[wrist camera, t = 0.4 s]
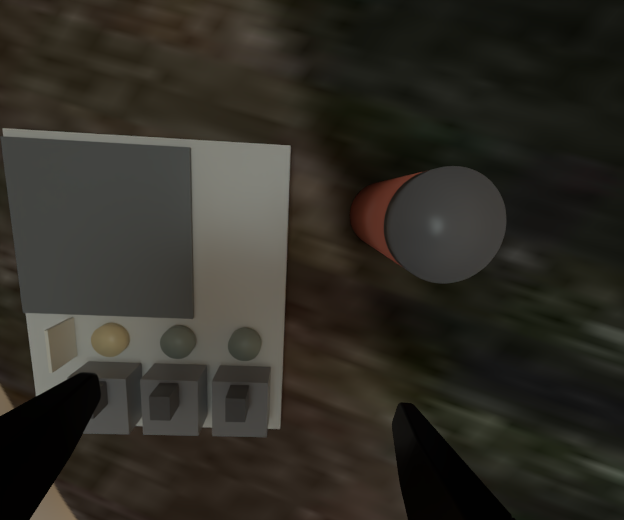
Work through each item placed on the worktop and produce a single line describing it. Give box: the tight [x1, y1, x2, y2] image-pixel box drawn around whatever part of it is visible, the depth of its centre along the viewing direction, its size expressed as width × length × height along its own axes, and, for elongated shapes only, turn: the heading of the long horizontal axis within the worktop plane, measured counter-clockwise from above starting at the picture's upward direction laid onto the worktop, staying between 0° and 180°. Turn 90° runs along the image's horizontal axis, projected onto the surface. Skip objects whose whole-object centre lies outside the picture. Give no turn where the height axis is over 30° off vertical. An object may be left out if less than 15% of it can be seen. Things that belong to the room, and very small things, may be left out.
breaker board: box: [1, 128, 291, 437], centre depth 20 cm, size 20×17×5 cm
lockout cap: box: [350, 166, 506, 283], centre depth 17 cm, size 4×4×10 cm
